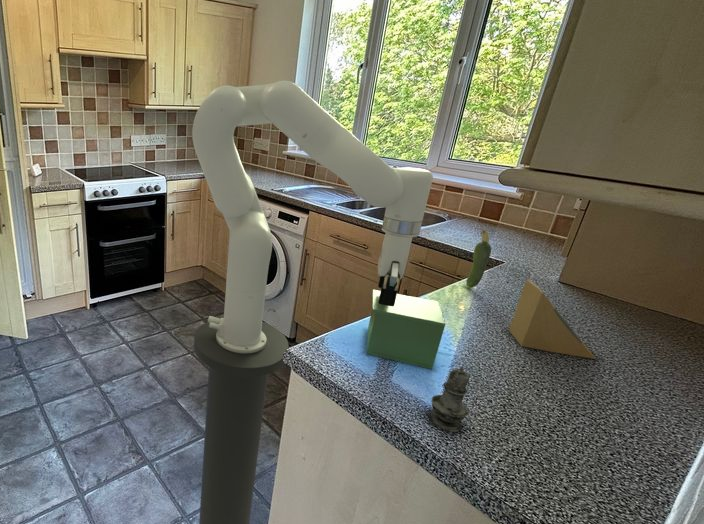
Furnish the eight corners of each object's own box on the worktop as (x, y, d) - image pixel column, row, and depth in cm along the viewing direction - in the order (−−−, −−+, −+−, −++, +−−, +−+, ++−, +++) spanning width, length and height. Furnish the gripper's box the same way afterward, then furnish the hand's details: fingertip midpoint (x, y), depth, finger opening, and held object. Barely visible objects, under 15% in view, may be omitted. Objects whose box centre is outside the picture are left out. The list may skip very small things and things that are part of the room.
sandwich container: (597, 360, 96) (623, 303, 91) (521, 346, 101) (542, 292, 95) (578, 341, 104) (600, 288, 99) (508, 329, 108) (526, 278, 103)
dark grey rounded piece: (469, 435, 72) (489, 379, 68) (433, 430, 73) (451, 374, 69) (455, 412, 78) (472, 359, 73) (422, 407, 78) (437, 355, 74)
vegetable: (480, 289, 133) (498, 231, 125) (477, 293, 130) (496, 233, 123) (464, 285, 135) (481, 227, 128) (461, 289, 132) (479, 230, 125)
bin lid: (371, 312, 92) (376, 292, 90) (372, 292, 102) (376, 273, 100) (444, 326, 86) (450, 306, 85) (437, 304, 96) (442, 285, 95)
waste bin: (366, 353, 95) (375, 313, 91) (367, 330, 105) (375, 293, 101) (432, 369, 90) (444, 327, 86) (426, 343, 100) (437, 304, 96)
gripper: (382, 214, 98) (368, 279, 104) (383, 233, 83) (367, 308, 89) (416, 218, 95) (401, 285, 101) (424, 239, 80) (405, 316, 86)
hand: (385, 296), depth 95 cm, fingers open, 9 cm apart
